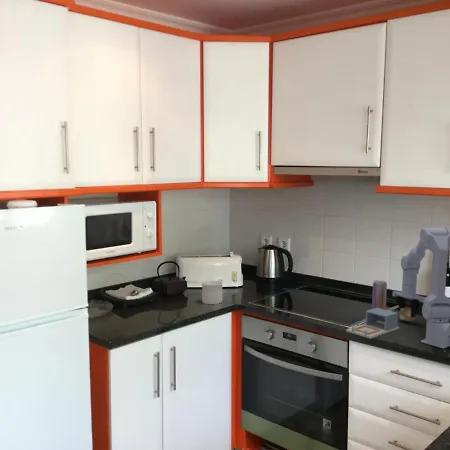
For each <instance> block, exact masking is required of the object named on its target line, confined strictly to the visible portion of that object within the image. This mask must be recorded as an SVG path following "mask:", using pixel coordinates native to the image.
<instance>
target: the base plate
mask: <svg viewBox="0 0 450 450" xmlns="http://www.w3.org/2000/svg"><path fill="white" fill-rule="evenodd" d="M384 328H385V322H383V321H379V320H378V321H376V322H373V323H370V324H365V323H363V324H359V325H357V326H355V325H352V326H351V327H349V328H346V329H345V332H346V333H350V334H353V335H357V336H360V337H364V338H367V339H374V338H376V337H379V335H380V336H382V334H383V335H385V334H388V333H391V332H393V331H396V330H399V329H400V326H398V325H397V326H396V327H393V328H390V329H388V330H385V329H384Z"/></svg>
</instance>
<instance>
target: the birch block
mask: <svg viewBox="0 0 450 450" xmlns="http://www.w3.org/2000/svg"><path fill="white" fill-rule="evenodd" d="M399 312H400V313H399V320H404V321H407V322H412V321H414V320H416V316H415V317H411V307H410V306H409V307H408V306H405V307H404V308H401V310H400V309H399Z"/></svg>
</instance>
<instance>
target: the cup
mask: <svg viewBox="0 0 450 450" xmlns="http://www.w3.org/2000/svg"><path fill="white" fill-rule="evenodd" d="M201 285H202V288H201V289H202V292H201V302H202V304H204V305H208V304H214V305H220V304H222V303H221V302H223V297H224V296H223V286H224V285H223V282H222V281H220V280H206V281H203V282H201ZM219 303H220V304H219Z"/></svg>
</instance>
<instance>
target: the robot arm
mask: <svg viewBox="0 0 450 450" xmlns="http://www.w3.org/2000/svg"><path fill="white" fill-rule="evenodd" d="M427 250H429V251H431V252H432V253H431V254H432V264H431V268H432V269H431V281H430V282H431V283H430V294H429V295H428V296H421V295H419V294H417V286H418V285H417V284H418V283H417V282H418V280H417V279H418V275H419V271H420V269H421V262H422V261H423V259H424V257H425V256H426V251H427ZM449 251H450V230H449V228H448V227H426V226H425V227H424V226H423V227H422V228H421V229H420V233H419V241H418V243H417V245H415V246H413V247H412V248H411V250H410V251H409V252H408V254H407V255H403V256H401V260H400V267H401V269H402V285H401V291H397V290H394V291H392V297H396V298H395V301H396V303H397V306H398V310H399V311H400V310H401V308H404V307H406V304H407V300H409V303H410V308H411V317H415V318H416V315H417V312H418V310H419V308H420V306H421V304H422V307H421V313H422V316H423V318H424V319H425V320H426V326H425V327H426V328H425V338H423V339H422V340H420V343H424V344H427V345H430V346H434V347H437V348H440V349H446V348H449V347H450V298H449V297H448V296H447V295H446V285H447V284H446V283H447V269H448V267H447V266H448V252H449ZM410 300H411V301H410Z"/></svg>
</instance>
